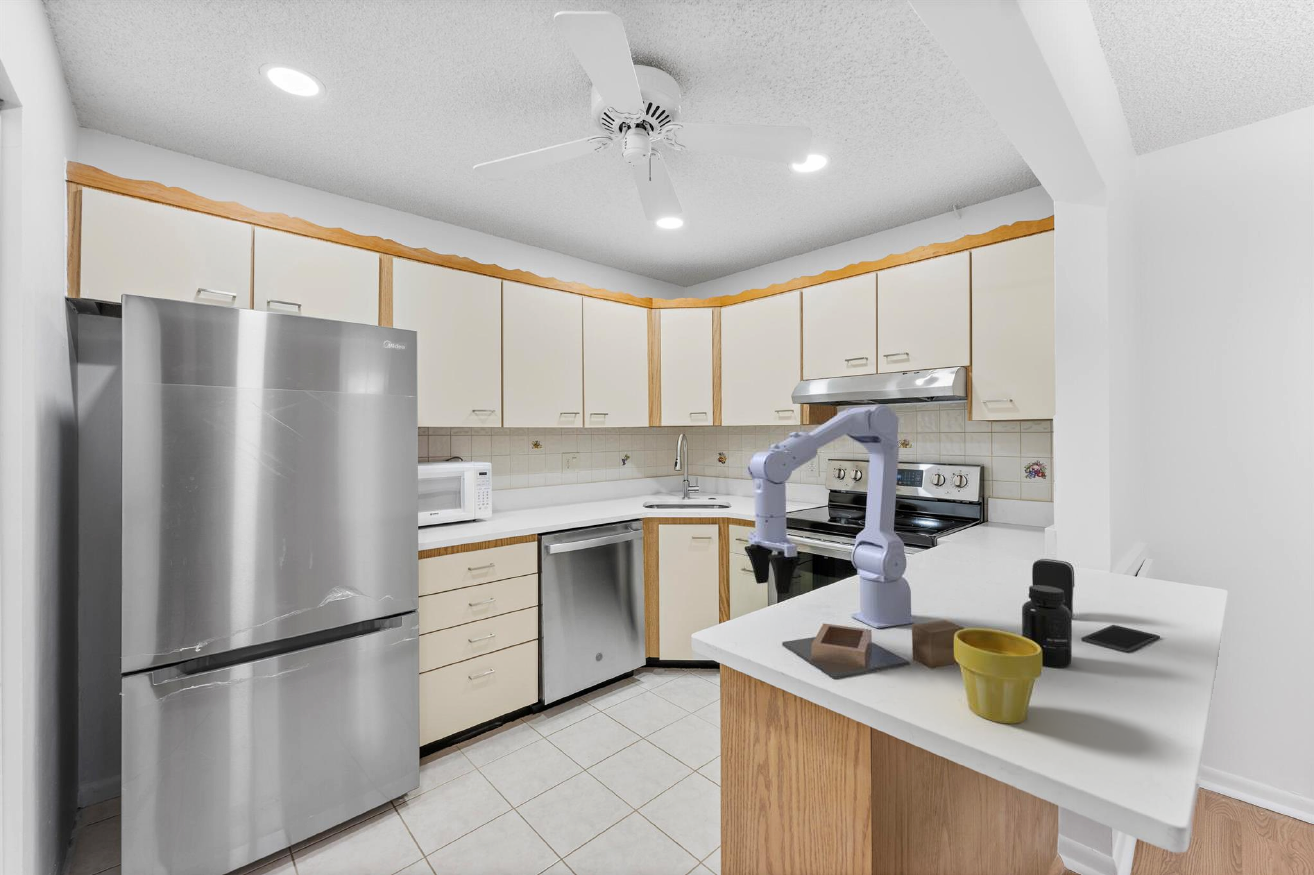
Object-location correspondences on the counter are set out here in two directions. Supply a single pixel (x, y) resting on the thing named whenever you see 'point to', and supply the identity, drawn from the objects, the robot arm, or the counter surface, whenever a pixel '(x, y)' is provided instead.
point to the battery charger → (1055, 577)
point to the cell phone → (1120, 638)
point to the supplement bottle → (1048, 624)
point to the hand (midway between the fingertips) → (772, 587)
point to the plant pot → (997, 672)
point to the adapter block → (934, 643)
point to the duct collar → (844, 651)
